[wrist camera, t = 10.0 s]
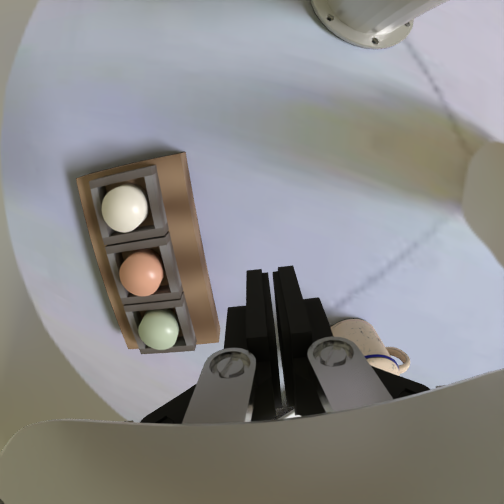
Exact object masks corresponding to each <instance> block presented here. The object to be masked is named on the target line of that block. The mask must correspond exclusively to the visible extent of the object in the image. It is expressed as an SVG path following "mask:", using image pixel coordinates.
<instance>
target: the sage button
mask: <svg viewBox="0 0 504 504" xmlns="http://www.w3.org/2000/svg"><path fill="white" fill-rule="evenodd" d="M179 329H180V322H179V319H178V316H177V315H176V314H175V313H174V312H173V311H172V310H170V309H168V308H164V309H154V310H147V311H146V313H145V315H144V317H143V319H142V321H141V323H140V325H139V329H138V332H139V336H140V338H141V340H142V341H143V342H144V343H145V344H146V345H148V346H149V347H151V348H153V349H157V350H165V349H169V348H171V347H172V346H173V345H174V344H175V342H176V339H177V336H178V332H179Z"/></svg>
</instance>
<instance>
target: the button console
mask: <svg viewBox="0 0 504 504" xmlns="http://www.w3.org/2000/svg"><path fill="white" fill-rule="evenodd" d="M76 181H77V185H78V190H79V195H80V199H81V203H82V207H83V212H84V216H85V220H86V223H87V227H88V231H89V235H90V238H91V242H92V246H93V249H94V252H95V256H96V259H97V263H98V266H99V269H100V272H101V275H102V278H103V281H104V285H105V288H106V290H107V293H108V296H109V299H110V302H111V305H112V308H113V310H114V313H115V316H116V319H117V321H118V324H119V327H120V329H121V332H122V334H123V337H124V339H125V342H126V344H127V347H128V349H139V350H140V352H141V354H153V353H169V352H183V351H195V347H196V344H207V343H217V342H219V336H220V325H219V321H218V316H217V312H216V307H215V303H214V298H213V293H212V289H211V284H210V279H209V275H208V270H207V265H206V260H205V255H204V250H203V245H202V240H201V235H200V230H199V225H198V219H197V214H196V209H195V203H194V198H193V192H192V187H191V181H190V175H189V170H188V164H187V158H186V152H183V153H178V154H173V155H168V156H163V157H158V158H153V159H149V160H144V161H140V162H135V163H131V164H127V165H123V166H118V167H114V168H110V169H106V170H103V171H99V172H95V173H91V174H88V175H85V176H82V177H79V178H76ZM127 183H132V184H136V185H139V186H140V187H142V188H143V189H144V190H145V191H146V193H147V195H148V198H149V203H150V211H149V214H148V216H147V217H146V219H145V220H144V221H143V222H142V223H141V224H140V225H139V226H138V227H136V228H135V229H134V230H132V231H129V232H118V231H115V230H114V229H112V228H111V227H109V226H108V224H107V223H106V222H105V220H104V218H103V215H102V202H103V199H104V197H105V196H106V194H107V193H108V192H109V191H111V190H112V189H115V188H117V187H119V186H121V185H123V184H127ZM144 248H145V249H150V250H152V251H154V252H156V253H157V254H158V255H159V256H160V257H161V258H162V260H163V263H164V267H165V274H164V277H163V279H162V281H161V283H160V285H159V287H158V289H157V290H156V291H155V292H154V293H153V294H151V295H149V296H137V295H134V294H132V293H130V292H129V291H128V290H126V289H125V287H124V286H123V285H122V283H121V280H120V276H119V271H120V267H121V265H122V264H123V262H124V261H125V260H126V259H127V258H128V256H129V255H130V254H131V253H132V252H133V251H135V250H137V249H144ZM164 308H168V309H170V310H172V311H173V312H174V313H175V314H176V315H177V316H178V319H179V322H180V329H179V332H178V336H177V339H176V342H175V344H174V345H173V346H172V347H171V348H169V349H165V350H157V349H153V348H151V347H149V346H148V345H146V344H145V343H144V342H143V341H142V340H141V338H140V336H139V332H138V329H139V325H140V323H141V321H142V319H143V317H144V315H145V313H146V311H147V310H154V309H164Z"/></svg>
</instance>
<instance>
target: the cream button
mask: <svg viewBox="0 0 504 504" xmlns="http://www.w3.org/2000/svg"><path fill="white" fill-rule="evenodd" d="M149 211H150V203H149V198H148V195H147V193H146V191H145V190H144V189H143V188H142V187H140V186H139V185H136V184H132V183H127V184H123V185H121V186H119V187H117V188H115V189H112V190H111V191H109V192H108V193H107V194H106V196H105V197H104V199H103V202H102V215H103V218H104V220H105V222H106V223H107V224H108V226H109V227H111V228H112V229H114V230H115V231H118V232H129V231H132V230H134V229H135V228H136V227H138V226H139V225H140V224H141V223H142V222H143V221H144V220H145V219H146V217H147V216H148V214H149Z"/></svg>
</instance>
